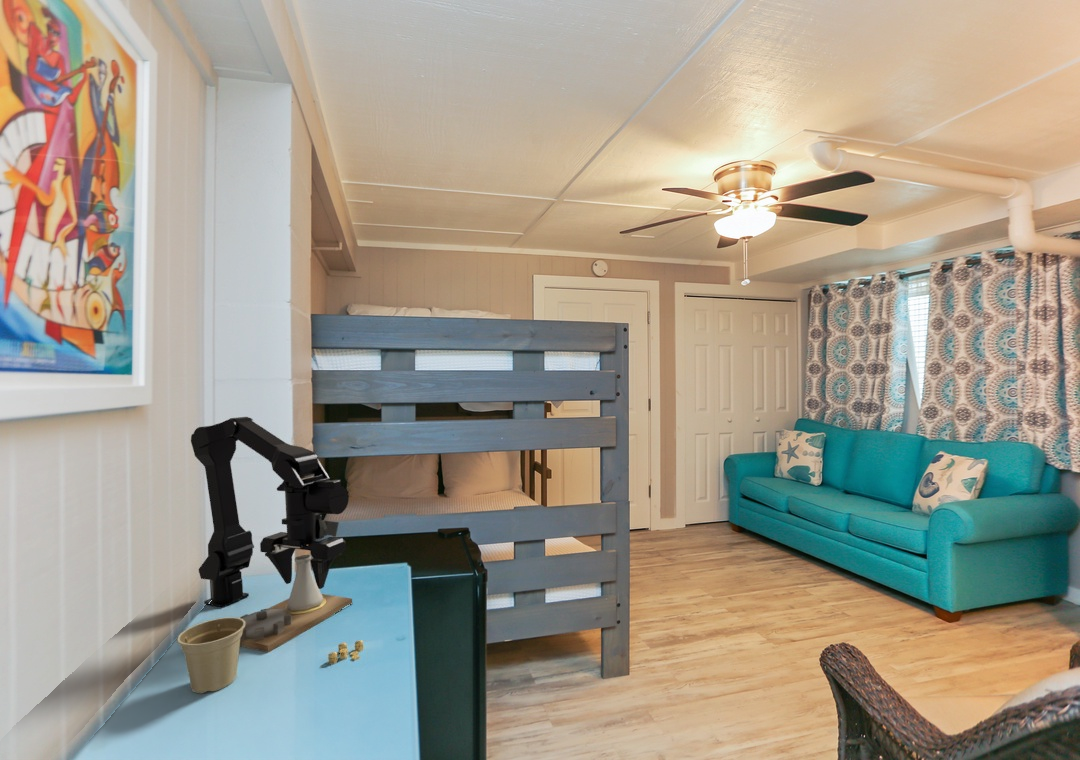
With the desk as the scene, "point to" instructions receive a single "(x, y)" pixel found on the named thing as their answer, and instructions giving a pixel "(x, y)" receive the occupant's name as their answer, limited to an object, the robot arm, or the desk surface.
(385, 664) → the desk surface
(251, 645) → the gear board
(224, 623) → the flower pot
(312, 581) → the flask
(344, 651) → the dice set
